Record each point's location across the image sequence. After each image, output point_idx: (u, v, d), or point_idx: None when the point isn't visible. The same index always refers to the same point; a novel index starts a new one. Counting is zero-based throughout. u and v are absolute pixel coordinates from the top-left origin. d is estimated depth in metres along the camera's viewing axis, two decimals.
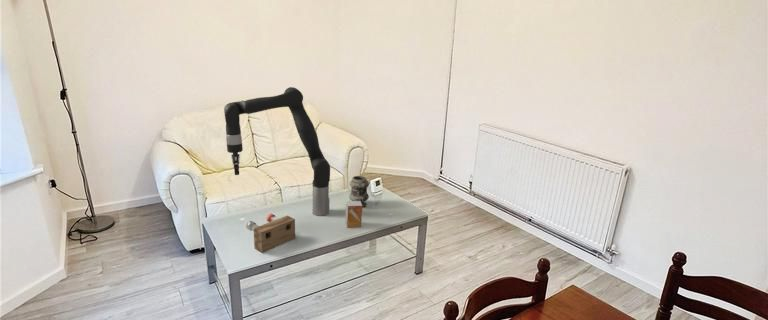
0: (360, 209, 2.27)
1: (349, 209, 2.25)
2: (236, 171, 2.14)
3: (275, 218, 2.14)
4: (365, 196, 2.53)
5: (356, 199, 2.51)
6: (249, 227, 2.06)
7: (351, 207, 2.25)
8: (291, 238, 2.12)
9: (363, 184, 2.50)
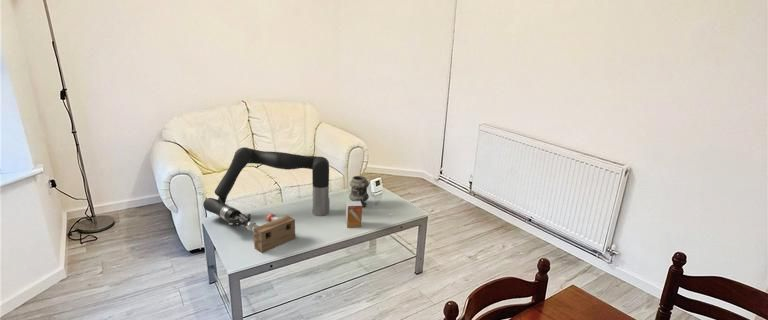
0: (360, 209, 2.27)
1: (349, 209, 2.25)
2: (245, 224, 2.09)
3: (275, 218, 2.14)
4: (365, 196, 2.53)
5: (356, 199, 2.51)
6: (249, 227, 2.06)
7: (351, 207, 2.25)
8: (291, 238, 2.12)
9: (363, 184, 2.50)
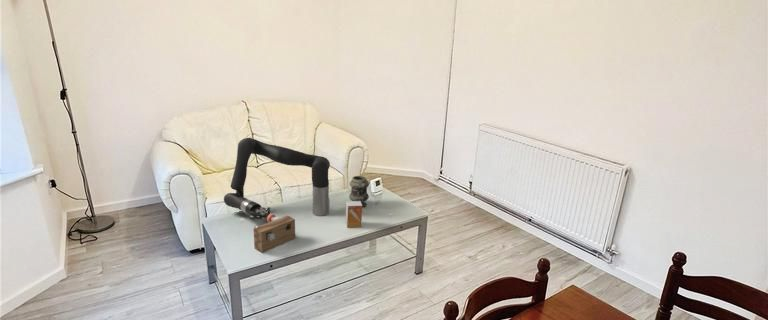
0: (360, 209, 2.27)
1: (349, 209, 2.25)
2: (265, 217, 2.17)
3: (275, 218, 2.14)
4: (365, 196, 2.53)
5: (356, 199, 2.51)
6: None
7: (351, 207, 2.25)
8: (291, 238, 2.12)
9: (363, 184, 2.50)
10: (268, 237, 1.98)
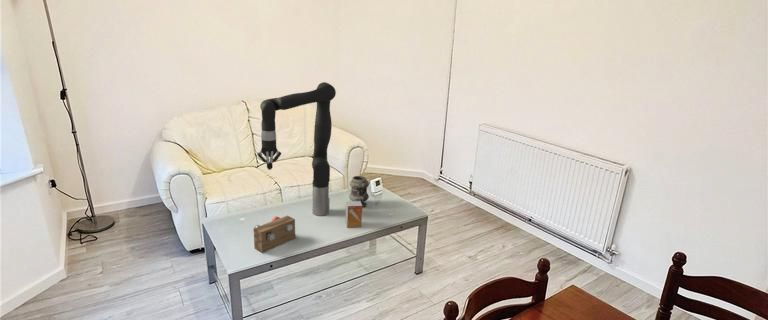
0: (360, 209, 2.27)
1: (349, 209, 2.25)
2: (267, 165, 2.25)
3: None
4: (365, 196, 2.53)
5: (356, 199, 2.51)
6: None
7: (351, 207, 2.25)
8: (291, 238, 2.12)
9: (363, 184, 2.50)
10: (268, 237, 1.98)
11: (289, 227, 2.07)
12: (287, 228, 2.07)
